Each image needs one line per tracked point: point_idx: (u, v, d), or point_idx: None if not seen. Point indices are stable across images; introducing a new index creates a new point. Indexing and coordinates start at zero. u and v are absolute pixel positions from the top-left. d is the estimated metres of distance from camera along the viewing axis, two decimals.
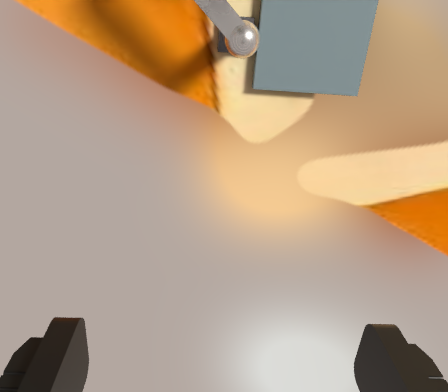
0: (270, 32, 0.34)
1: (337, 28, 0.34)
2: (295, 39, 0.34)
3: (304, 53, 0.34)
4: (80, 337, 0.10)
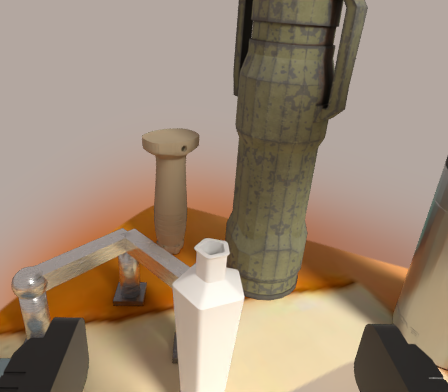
0: None
1: None
2: None
3: None
4: (80, 337, 0.10)
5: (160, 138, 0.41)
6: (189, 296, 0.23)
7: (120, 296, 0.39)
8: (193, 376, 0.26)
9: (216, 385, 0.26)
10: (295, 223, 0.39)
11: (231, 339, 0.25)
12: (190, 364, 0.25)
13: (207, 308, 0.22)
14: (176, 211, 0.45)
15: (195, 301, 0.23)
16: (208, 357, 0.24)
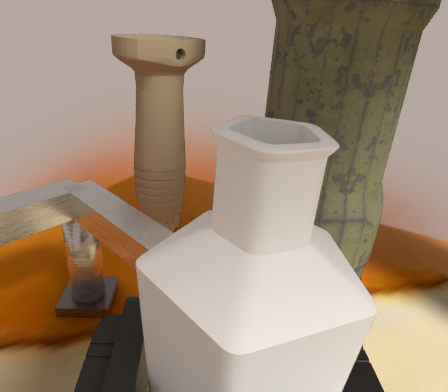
0: None
1: None
2: None
3: None
4: None
5: (140, 37, 0.25)
6: (191, 299, 0.06)
7: (69, 300, 0.23)
8: None
9: None
10: (374, 174, 0.22)
11: None
12: None
13: (259, 349, 0.06)
14: (168, 165, 0.28)
15: (211, 318, 0.06)
16: None
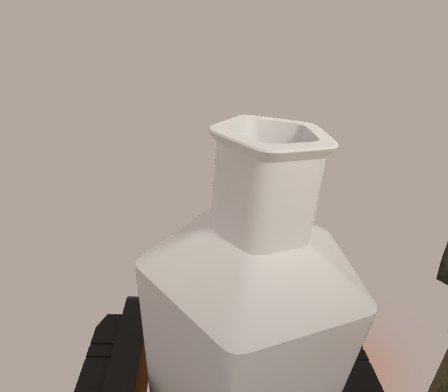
0: None
1: None
2: None
3: None
4: None
5: None
6: (191, 300, 0.06)
7: None
8: None
9: None
10: None
11: None
12: None
13: (259, 349, 0.06)
14: None
15: (210, 318, 0.06)
16: None
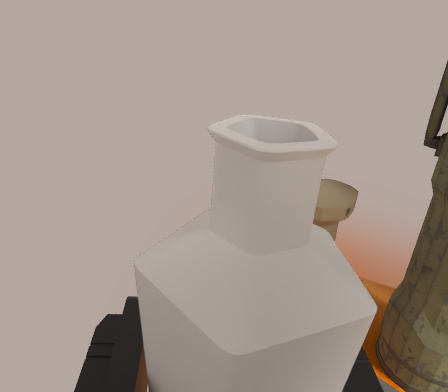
0: None
1: None
2: None
3: None
4: None
5: None
6: (190, 300, 0.06)
7: None
8: None
9: None
10: None
11: None
12: None
13: (258, 349, 0.06)
14: None
15: (210, 319, 0.06)
16: None
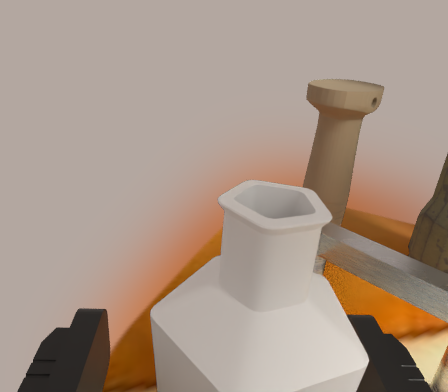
0: None
1: None
2: None
3: None
4: (104, 327, 0.10)
5: (337, 86, 0.28)
6: (200, 352, 0.07)
7: None
8: None
9: None
10: None
11: None
12: None
13: None
14: (341, 197, 0.31)
15: (218, 371, 0.07)
16: None
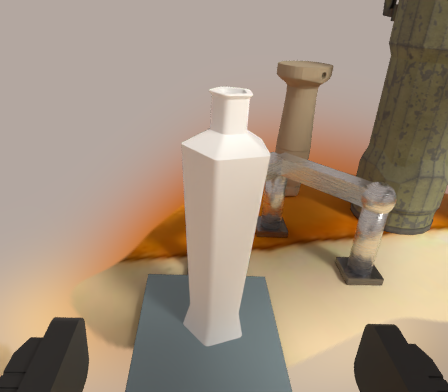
0: None
1: (228, 346, 0.23)
2: None
3: None
4: (80, 337, 0.10)
5: (298, 64, 0.39)
6: (203, 149, 0.18)
7: (263, 227, 0.37)
8: (205, 265, 0.21)
9: (233, 280, 0.22)
10: None
11: (253, 215, 0.20)
12: (202, 251, 0.21)
13: (225, 160, 0.18)
14: (304, 147, 0.43)
15: (209, 153, 0.18)
16: (224, 236, 0.20)
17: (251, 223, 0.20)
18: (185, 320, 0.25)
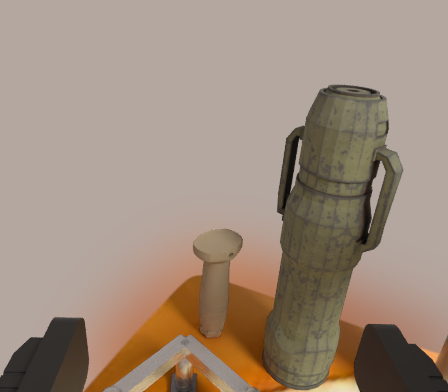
0: None
1: None
2: None
3: None
4: (80, 337, 0.10)
5: (209, 245, 0.46)
6: None
7: (175, 390, 0.44)
8: None
9: None
10: (332, 327, 0.44)
11: None
12: None
13: None
14: (220, 304, 0.50)
15: None
16: None
17: None
18: None
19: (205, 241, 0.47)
